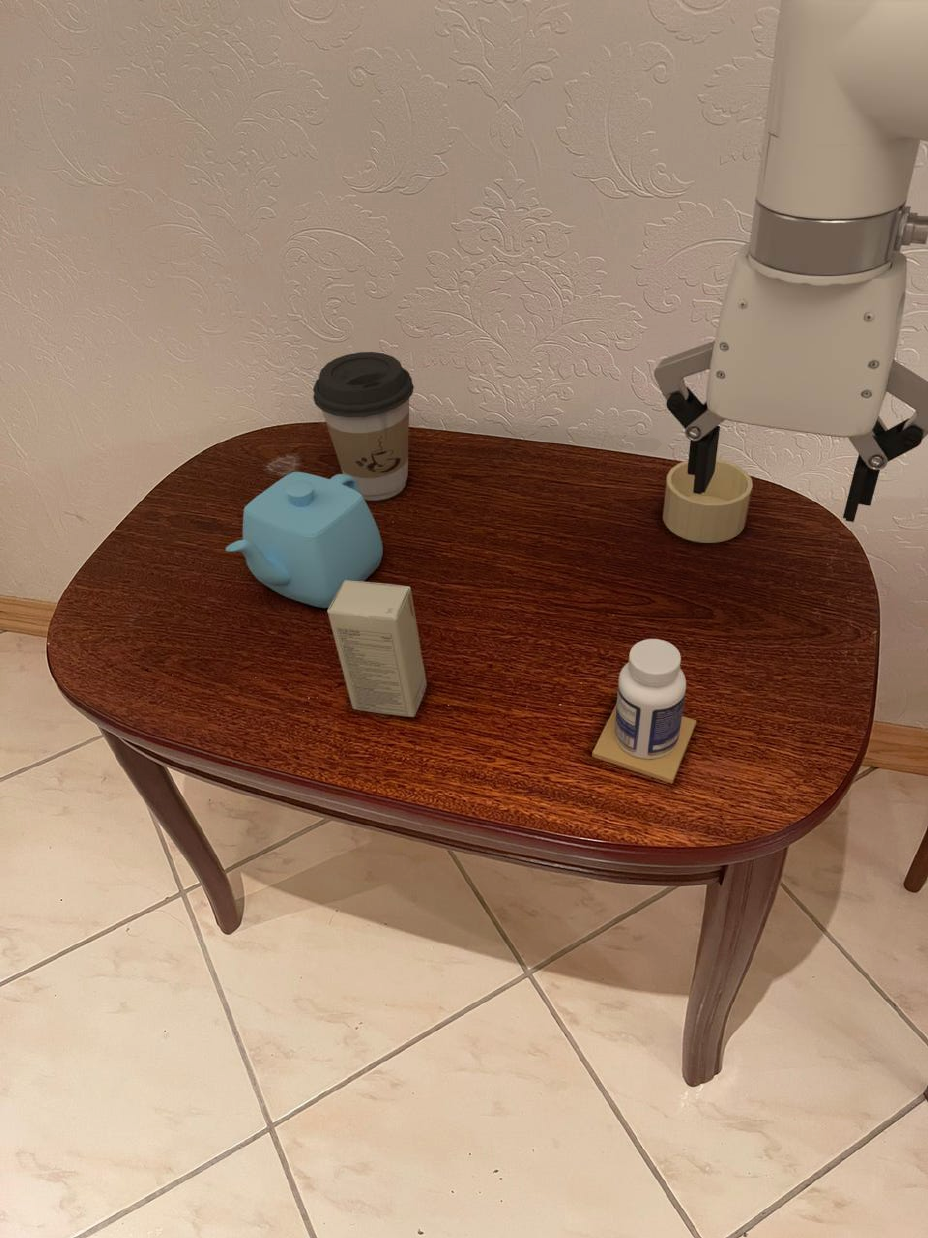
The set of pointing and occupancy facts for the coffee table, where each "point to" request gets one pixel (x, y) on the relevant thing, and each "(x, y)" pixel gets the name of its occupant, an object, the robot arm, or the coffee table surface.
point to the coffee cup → (368, 419)
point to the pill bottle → (650, 700)
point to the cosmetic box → (379, 647)
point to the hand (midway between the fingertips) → (775, 496)
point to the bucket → (707, 503)
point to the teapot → (310, 537)
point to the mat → (654, 768)
